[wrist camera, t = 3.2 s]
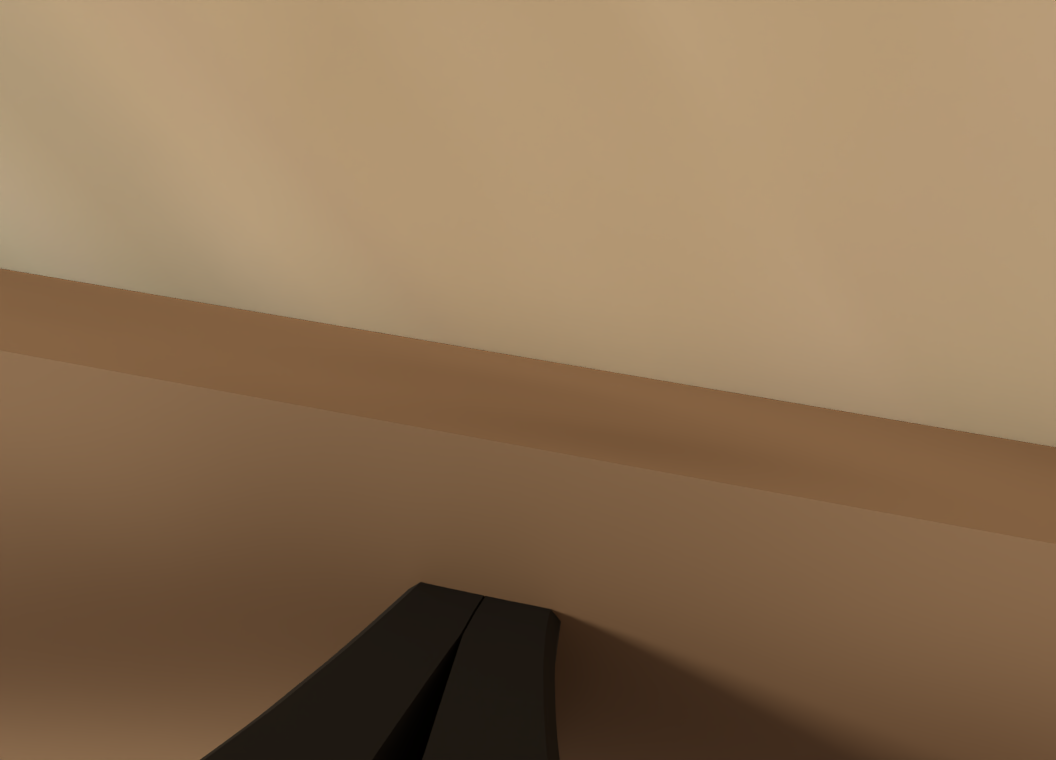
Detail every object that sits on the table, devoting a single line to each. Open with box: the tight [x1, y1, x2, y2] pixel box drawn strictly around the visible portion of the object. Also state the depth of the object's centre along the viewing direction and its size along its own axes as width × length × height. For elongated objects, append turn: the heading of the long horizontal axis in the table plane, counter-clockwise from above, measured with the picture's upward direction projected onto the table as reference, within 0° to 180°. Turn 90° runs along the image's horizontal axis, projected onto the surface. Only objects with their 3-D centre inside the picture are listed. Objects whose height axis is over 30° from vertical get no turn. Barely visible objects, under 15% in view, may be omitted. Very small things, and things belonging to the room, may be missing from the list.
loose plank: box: [0, 269, 1056, 760], centre depth 9 cm, size 7×22×2 cm, turn 83°
